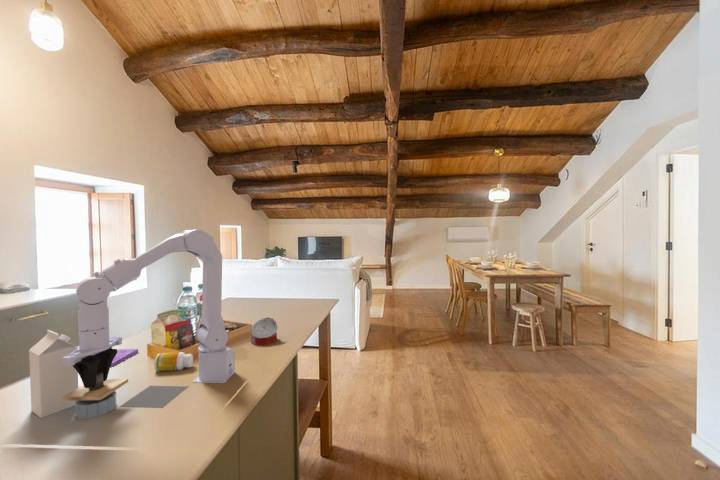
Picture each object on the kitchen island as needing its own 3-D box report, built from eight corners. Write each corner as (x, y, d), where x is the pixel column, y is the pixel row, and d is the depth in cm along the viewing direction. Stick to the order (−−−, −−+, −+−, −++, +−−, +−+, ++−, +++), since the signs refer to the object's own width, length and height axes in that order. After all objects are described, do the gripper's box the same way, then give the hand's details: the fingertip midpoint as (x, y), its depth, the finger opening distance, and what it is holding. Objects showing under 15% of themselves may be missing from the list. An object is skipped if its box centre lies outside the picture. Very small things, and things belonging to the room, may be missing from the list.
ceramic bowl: (123, 403, 84) (123, 390, 84) (98, 420, 77) (98, 405, 77) (95, 403, 85) (94, 389, 84) (67, 419, 77) (67, 405, 77)
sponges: (138, 353, 120) (138, 348, 120) (112, 368, 107) (112, 362, 107) (119, 353, 120) (118, 348, 120) (90, 368, 107) (90, 362, 107)
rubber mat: (188, 388, 92) (188, 386, 92) (162, 409, 81) (162, 407, 81) (150, 387, 93) (150, 385, 93) (119, 408, 82) (119, 406, 82)
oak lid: (128, 381, 85) (127, 366, 85) (100, 400, 76) (99, 382, 76) (92, 382, 85) (92, 367, 85) (61, 400, 76) (60, 383, 76)
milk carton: (41, 419, 77) (38, 338, 77) (31, 411, 81) (28, 333, 80) (79, 405, 83) (76, 330, 83) (68, 398, 87) (65, 326, 86)
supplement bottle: (152, 370, 100) (186, 368, 101) (156, 351, 103) (189, 349, 104) (159, 373, 105) (192, 370, 106) (162, 355, 107) (194, 353, 109)
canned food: (277, 350, 134) (287, 330, 132) (257, 356, 125) (267, 334, 123) (261, 333, 139) (270, 313, 137) (241, 337, 131) (250, 316, 129)
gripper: (103, 319, 87) (104, 370, 88) (48, 337, 73) (50, 398, 73) (129, 319, 87) (130, 371, 87) (79, 337, 73) (81, 399, 73)
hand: (95, 383), depth 80 cm, fingers closed on oak lid, 3 cm apart
